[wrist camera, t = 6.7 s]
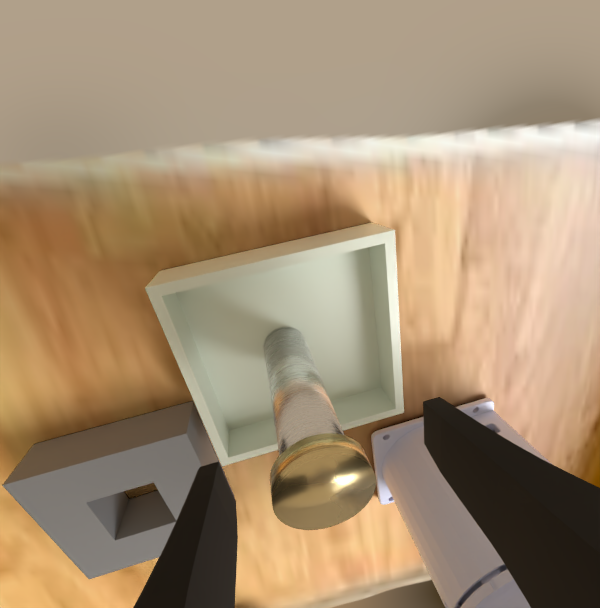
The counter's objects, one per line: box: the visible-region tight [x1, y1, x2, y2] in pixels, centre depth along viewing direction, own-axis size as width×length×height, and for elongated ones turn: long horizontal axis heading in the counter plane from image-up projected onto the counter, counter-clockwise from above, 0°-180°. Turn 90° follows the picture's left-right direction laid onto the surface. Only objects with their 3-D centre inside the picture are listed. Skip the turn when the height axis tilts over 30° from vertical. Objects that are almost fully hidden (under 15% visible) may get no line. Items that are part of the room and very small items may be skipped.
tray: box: [145, 222, 404, 466], centre depth 16 cm, size 11×11×2 cm
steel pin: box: [264, 327, 376, 530], centre depth 13 cm, size 3×3×9 cm
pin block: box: [2, 401, 234, 579], centre depth 18 cm, size 9×9×2 cm
